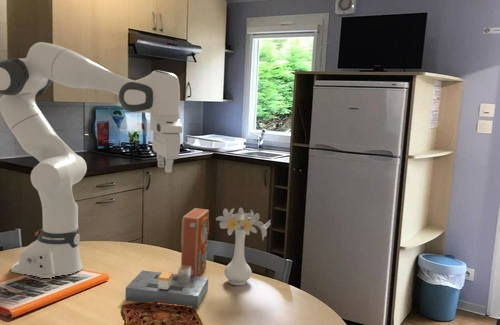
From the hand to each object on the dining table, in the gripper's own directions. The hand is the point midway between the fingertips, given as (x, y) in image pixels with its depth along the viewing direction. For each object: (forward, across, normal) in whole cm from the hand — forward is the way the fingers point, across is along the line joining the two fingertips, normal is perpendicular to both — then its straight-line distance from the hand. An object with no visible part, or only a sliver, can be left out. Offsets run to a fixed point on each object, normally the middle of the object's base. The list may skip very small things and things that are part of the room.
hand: (164, 169), depth 144 cm
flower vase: (+39, +2, +26) cm, 47 cm away
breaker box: (+38, +6, 0) cm, 39 cm away
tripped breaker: (+34, +9, -2) cm, 35 cm away
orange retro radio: (+39, -10, +13) cm, 42 cm away
